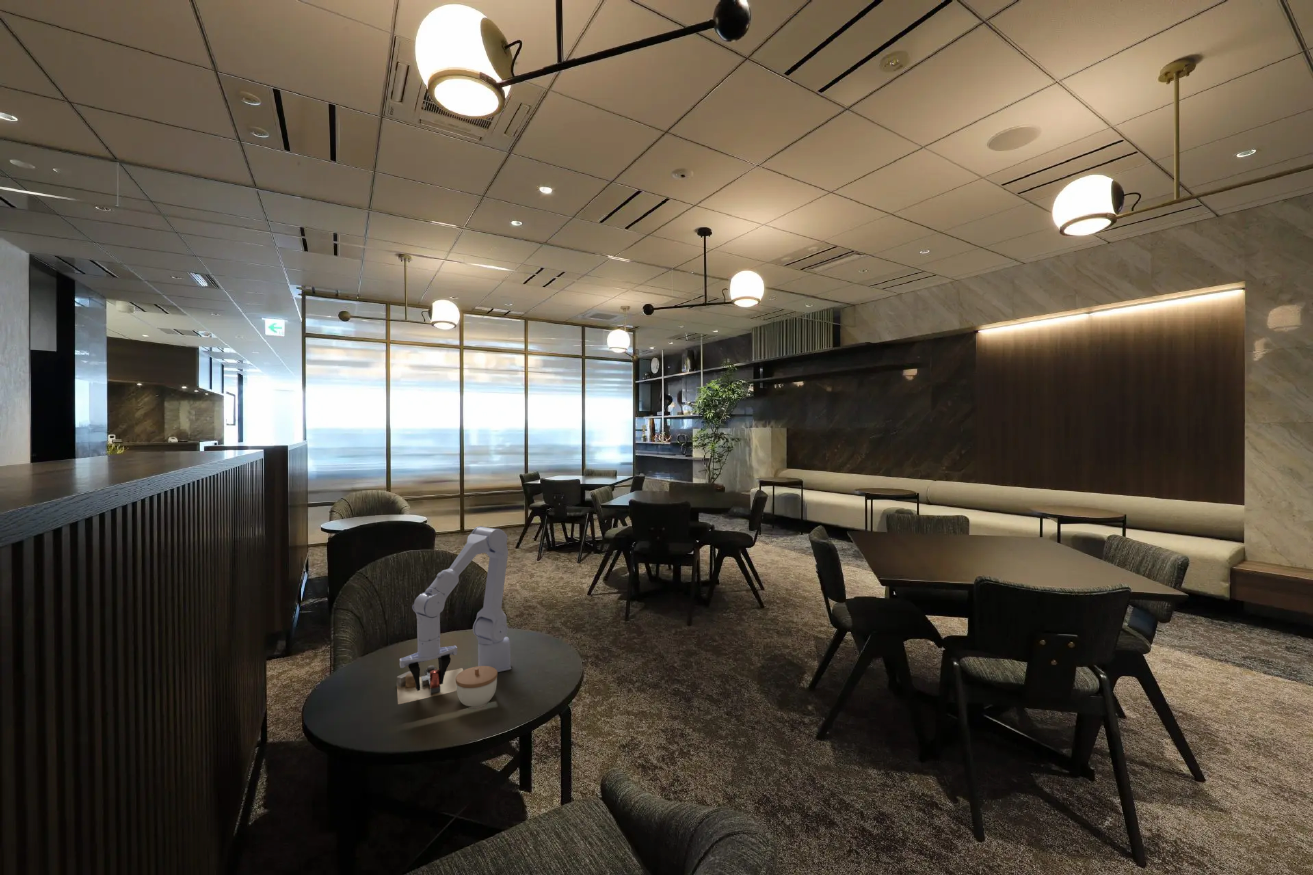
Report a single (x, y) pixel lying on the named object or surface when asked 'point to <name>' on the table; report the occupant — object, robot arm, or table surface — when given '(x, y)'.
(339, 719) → the table surface
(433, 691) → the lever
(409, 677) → the cork
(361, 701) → the table surface
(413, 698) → the board
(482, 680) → the lidded jar
